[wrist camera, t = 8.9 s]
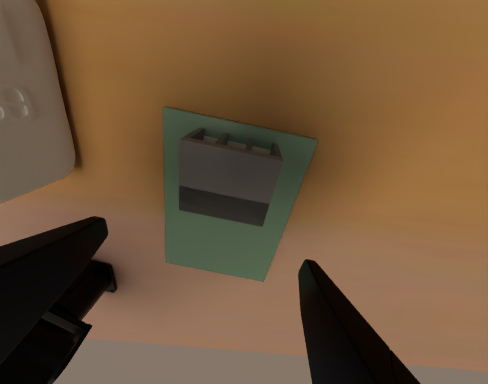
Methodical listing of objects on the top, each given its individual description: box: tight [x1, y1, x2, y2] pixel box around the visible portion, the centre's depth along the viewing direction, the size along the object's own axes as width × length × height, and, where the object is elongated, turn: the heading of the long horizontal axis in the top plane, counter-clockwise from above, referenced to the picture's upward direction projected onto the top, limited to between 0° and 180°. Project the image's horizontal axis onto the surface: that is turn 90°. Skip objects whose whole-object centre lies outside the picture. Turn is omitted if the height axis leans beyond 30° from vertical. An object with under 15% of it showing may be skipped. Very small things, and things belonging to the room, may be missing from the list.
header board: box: [163, 107, 318, 282], centre depth 19 cm, size 20×14×4 cm
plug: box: [179, 127, 283, 227], centre depth 16 cm, size 6×7×4 cm
